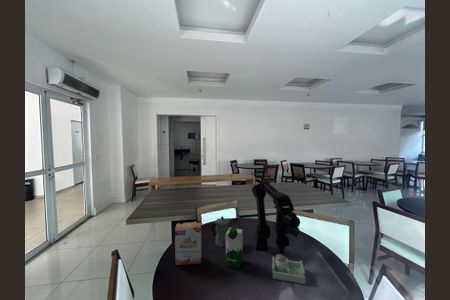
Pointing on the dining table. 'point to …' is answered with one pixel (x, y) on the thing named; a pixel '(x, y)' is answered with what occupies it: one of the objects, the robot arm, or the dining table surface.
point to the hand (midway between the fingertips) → (281, 248)
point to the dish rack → (289, 271)
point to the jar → (280, 263)
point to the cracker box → (188, 243)
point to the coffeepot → (221, 231)
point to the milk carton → (234, 247)
